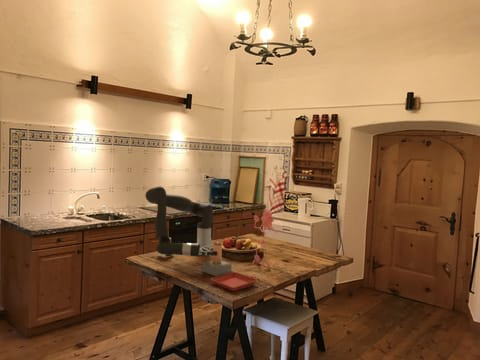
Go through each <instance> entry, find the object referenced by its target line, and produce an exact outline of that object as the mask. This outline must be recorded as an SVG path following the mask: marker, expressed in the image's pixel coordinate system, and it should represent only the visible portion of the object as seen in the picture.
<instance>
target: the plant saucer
mask: <svg viewBox="0 0 480 360" xmlns="http://www.w3.org/2000/svg"><path fill="white" fill-rule="evenodd" d="M210 280H211V282H212V283H213V284H214V285H216V286H219V287H222V288H224V289H226V290H228V291H231V292H235V291H239V290H242V289H246V288H249V287H252V286H253V285H254V284H255V283H256V282H257V281H258V280H257V279H256V278H253V277H252V276H251V277H250V276H248V275H244V274H241V273H240V272H239V273H238V272H235V271H233V272H232V271H231V272H230V273H226V274H223V275H220V276H217V277H216V276H214V277H211V278H210Z"/></svg>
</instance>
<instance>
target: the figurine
mask: <svg viewBox="0 0 480 360" xmlns="http://www.w3.org/2000/svg"><path fill="white" fill-rule="evenodd" d="M262 215H263V216H261V217H259V215H257V214H255V215H254V216H253V219H254V229H259V230H260V232H262V234H263V235H264V236H263V238H262V239H261V240H260V242H259V243H256V244H254V245H255V247H254V248H257V245H259V244H261V245H263V246H264V254H266V251H267V249H266V241H265V237H266V234H267V232H266V229H267V230H268V231H270V230H272V231H273V232H274V233H275V234H277V232H276V230H275V229H274V228H273V227H272V226H273V222H274V221H275V219H274V218H273V213H272V212H271V210H270V209H269V210H267V209H266V208H265V209H264V210H263V213H262ZM260 220H261V222H262V224H261V225H260V227H259V226H258V227H257V226H256V224H257V223H259V222H260ZM262 227H263V229H262ZM257 251H258V250H257V249H255V253H256V254H254V259H253V261H252V265H254V263H255V262H257V263H259V262H260V261H262V263H260V266H259V269H261V268H262V267H263V265H264V263H265V264H266V265H267V267H268V268H269V269H270V268H271V266H270V264H269V263H270V261H268V260H266V257H264V258H262V259H263V260H262V259H261V258H260V256H259V255H258V253H257ZM268 262H269V263H268ZM273 264H275V265H276V266H278V265H277V264H276V263H274V262H273Z"/></svg>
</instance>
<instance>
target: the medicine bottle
mask: <svg viewBox="0 0 480 360" xmlns="http://www.w3.org/2000/svg"><path fill="white" fill-rule="evenodd" d="M169 239H170V242H171V243H172V238H171V237H169ZM157 253H158V252H157ZM157 255H158V257H161V258H165V259H166V258H171V257H173V256H174V255H175V254H160V253H158V254H157Z"/></svg>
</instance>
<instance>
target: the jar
mask: <svg viewBox="0 0 480 360" xmlns="http://www.w3.org/2000/svg"><path fill="white" fill-rule="evenodd" d="M212 246H213V251H216V252H217V256H214V255H212V259H211V261H212V263H213V264H221V261H222V255H223V254H222V253H223V252H222V251H223V244H222V242H221V241H213V243H212Z"/></svg>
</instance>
